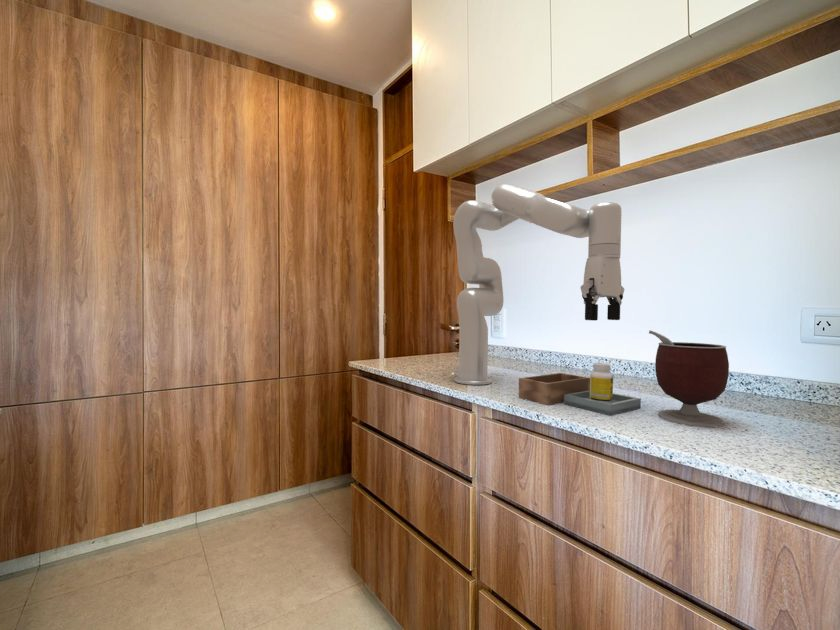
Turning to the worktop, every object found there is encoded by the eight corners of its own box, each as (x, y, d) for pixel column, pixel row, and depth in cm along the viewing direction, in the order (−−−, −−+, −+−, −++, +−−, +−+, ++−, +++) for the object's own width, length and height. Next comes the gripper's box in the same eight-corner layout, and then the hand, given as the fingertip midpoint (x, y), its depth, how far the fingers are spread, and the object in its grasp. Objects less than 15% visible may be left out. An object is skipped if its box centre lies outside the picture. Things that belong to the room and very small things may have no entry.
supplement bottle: (614, 405, 101) (615, 365, 101) (591, 403, 102) (592, 364, 102) (610, 400, 106) (610, 363, 106) (587, 399, 108) (588, 362, 108)
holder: (518, 397, 113) (519, 378, 113) (560, 390, 123) (560, 372, 123) (547, 405, 105) (548, 384, 105) (589, 397, 115) (590, 377, 115)
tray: (563, 404, 106) (564, 394, 106) (593, 398, 113) (593, 389, 113) (610, 415, 95) (611, 404, 95) (640, 408, 102) (640, 398, 102)
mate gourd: (729, 418, 94) (731, 332, 93) (725, 432, 83) (727, 334, 83) (653, 407, 104) (654, 329, 103) (640, 418, 93) (642, 331, 93)
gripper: (609, 257, 111) (608, 319, 112) (570, 251, 102) (568, 319, 102) (637, 254, 105) (635, 320, 106) (597, 248, 96) (595, 321, 96)
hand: (602, 320), depth 104 cm, fingers open, 9 cm apart
